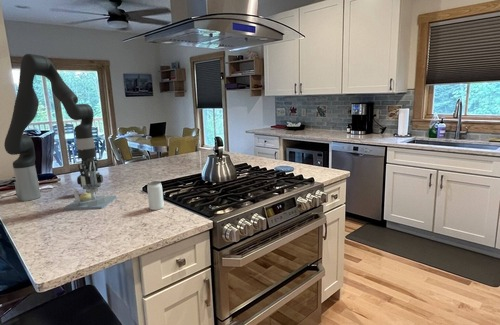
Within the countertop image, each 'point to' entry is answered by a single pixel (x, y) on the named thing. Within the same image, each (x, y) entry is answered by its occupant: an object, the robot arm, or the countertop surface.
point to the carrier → (89, 201)
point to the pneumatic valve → (82, 182)
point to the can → (155, 195)
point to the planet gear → (92, 181)
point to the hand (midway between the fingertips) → (91, 182)
